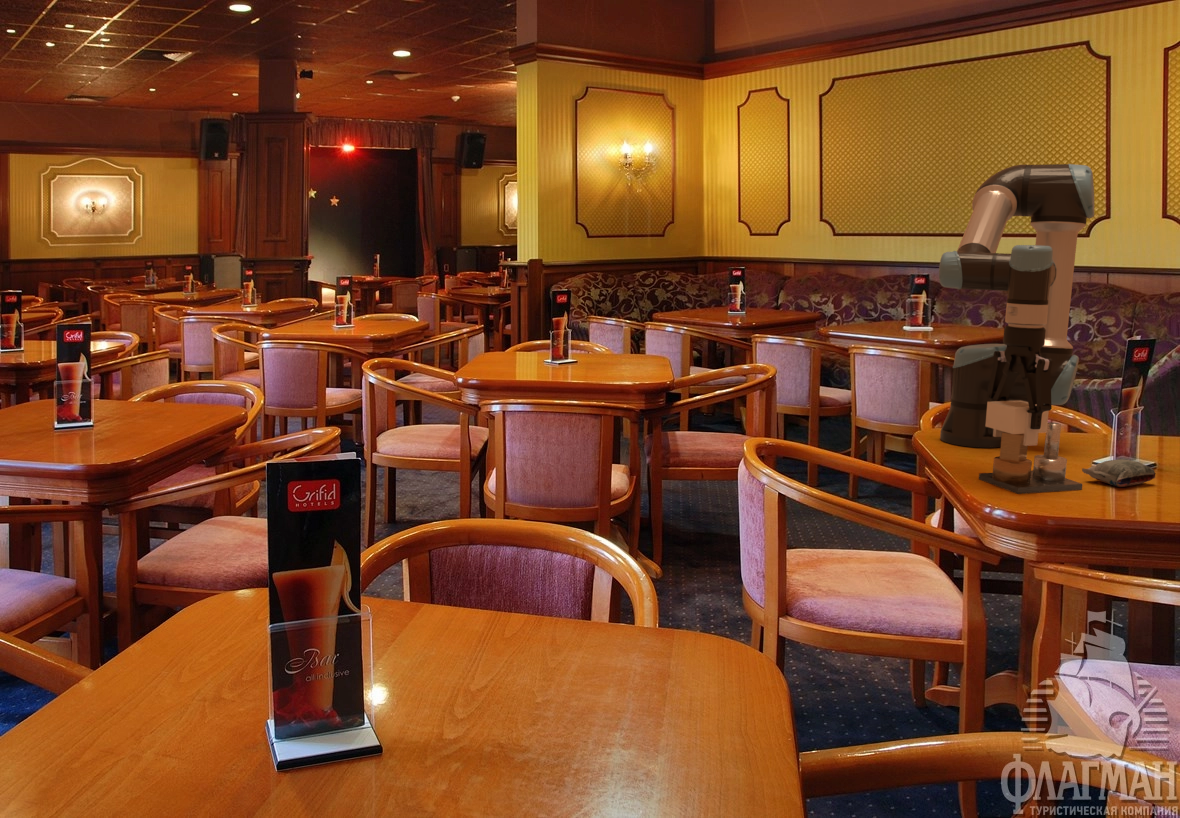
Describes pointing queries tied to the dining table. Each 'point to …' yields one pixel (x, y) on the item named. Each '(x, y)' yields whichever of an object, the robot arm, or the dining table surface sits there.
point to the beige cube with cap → (1011, 416)
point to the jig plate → (1033, 484)
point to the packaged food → (1121, 472)
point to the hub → (1012, 460)
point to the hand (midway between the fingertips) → (1014, 440)
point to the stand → (1050, 457)
